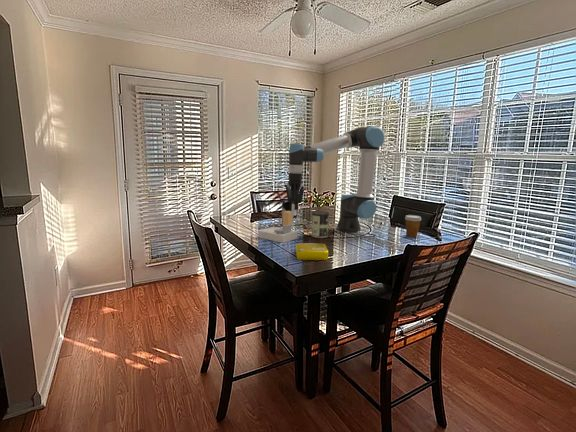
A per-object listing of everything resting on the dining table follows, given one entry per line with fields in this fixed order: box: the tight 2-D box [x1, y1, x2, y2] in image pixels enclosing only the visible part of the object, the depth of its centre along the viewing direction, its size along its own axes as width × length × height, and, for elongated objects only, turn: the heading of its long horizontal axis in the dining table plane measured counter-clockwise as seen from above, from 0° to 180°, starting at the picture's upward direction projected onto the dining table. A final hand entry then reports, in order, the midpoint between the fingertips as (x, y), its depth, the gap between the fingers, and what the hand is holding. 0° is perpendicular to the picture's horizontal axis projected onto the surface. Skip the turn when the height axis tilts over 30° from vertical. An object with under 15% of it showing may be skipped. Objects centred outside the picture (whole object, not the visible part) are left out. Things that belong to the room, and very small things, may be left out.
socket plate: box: [258, 226, 299, 244], centre depth 199 cm, size 18×14×4 cm
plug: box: [282, 211, 292, 227], centre depth 212 cm, size 4×4×13 cm
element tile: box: [295, 242, 329, 261], centre depth 168 cm, size 15×15×5 cm
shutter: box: [274, 224, 293, 233], centre depth 196 cm, size 7×7×4 cm
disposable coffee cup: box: [404, 214, 422, 238], centre depth 209 cm, size 10×10×12 cm
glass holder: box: [280, 201, 302, 227], centre depth 233 cm, size 9×14×15 cm, turn 107°
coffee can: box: [310, 210, 330, 239], centre depth 204 cm, size 10×10×14 cm
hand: (294, 215), depth 190 cm, fingers closed
